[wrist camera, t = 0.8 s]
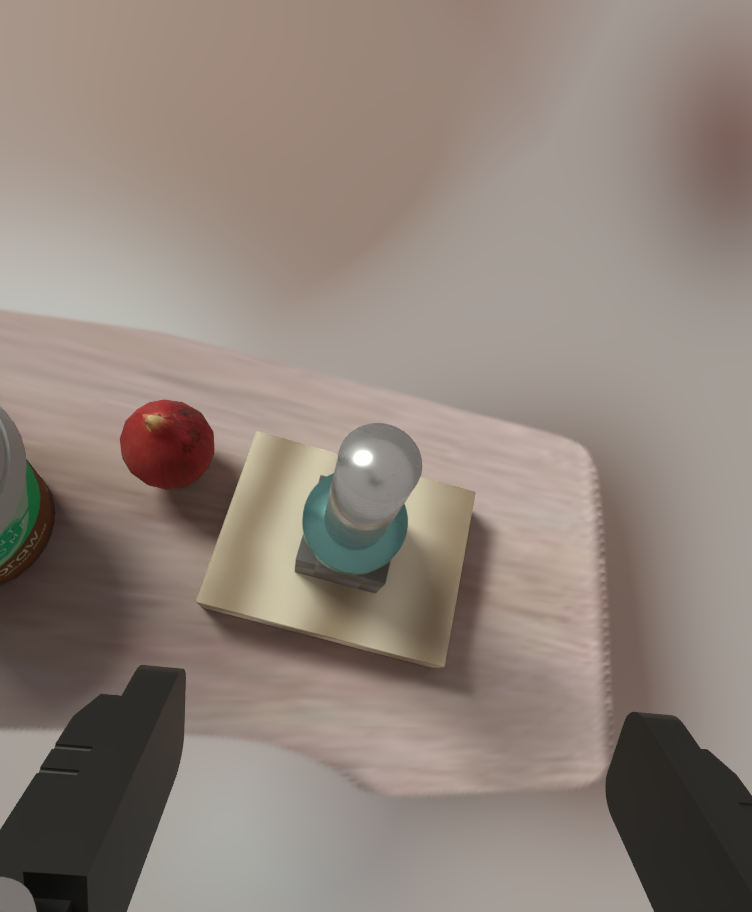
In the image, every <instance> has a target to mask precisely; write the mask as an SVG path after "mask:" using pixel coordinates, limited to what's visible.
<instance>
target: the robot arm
mask: <svg viewBox="0 0 752 912" xmlns="http://www.w3.org/2000/svg"><path fill="white" fill-rule="evenodd" d="M185 688H186V673H185V670H184V669H180V668H169V667H158V666H147V665H140V666H139V667H138V668H137V670H136V671H135V673H134V675H133V676H132V678H131V680H130V682H129V683H128V685H127V687H126V689H125V691H124V692H123V694H122V696H118V695H107V694H100V695H99V696H98V697H97V698H95V699H94V700H93V701H92V702H90V703H89V704H88V705H87V706H85V707H84V708H83V709H81V710H80V711H79V712H78V713H76V714H75V715H74V716H73V717H72V719H71V720H70V722H69V724H68V725H67V727H66V728H65V730H64V731H63V733H62V734H61V736H60V738H59V739H58V741H57V742H56V745H55V748H54V749H52V750H51V752H50V753H49V755H48V756H47V758H46V759H45V761H44V763H43V764H42V765H41V768H40V771H39V773H37V774H36V775H35V776H34V778H33V779H32V781H31V783H30V784H29V786H28V787H27V789H26V790H25V792H24V793H23V795H22V797H21V798H20V800H19V801H18V803H17V804H16V806H15V807H14V809H13V811H12V812H11V814H10V815H9V817H8V818H7V820H6V821H5V823H4V825H3V826H2V828H1V829H0V912H127V909H128V906H129V904H130V901H131V898H132V895H133V893H134V890H135V887H136V884H137V882H138V879H139V876H140V874H141V871H142V868H143V865H144V863H145V860H146V857H147V854H148V852H149V849H150V846H151V843H152V841H153V837H154V835H155V832H156V830H157V827H158V824H159V822H160V819H161V816H162V814H163V811H164V808H165V805H166V803H167V800H168V797H169V794H170V792H171V789H172V786H173V784H174V781H175V778H176V775H177V772H178V768H179V764H180V760H181V755H182V749H183V741H184V720H185ZM606 799H607V804H608V808H609V812H610V814H611V817H612V819H613V821H614V823H615V826H616V828H617V830H618V832H619V834H620V837H621V839H622V841H623V843H624V845H625V848H626V850H627V852H628V855H629V857H630V859H631V861H632V863H633V866H634V868H635V870H636V872H637V874H638V877H639V879H640V881H641V883H642V886H643V888H644V890H645V892H646V894H647V897H648V899H649V901H650V903H651V906H652V908H653V910H654V912H752V795H751V794H750V793H749V791H748V790H747V788H746V787H745V786H744V784H743V783H742V782H741V780H740V779H739V778H738V776H737V775H736V774H735V773H734V772H732V771H731V770H730V769H729V768H728V767H727V766H726V765H725V764H723V763H722V762H721V761H720V760H719V759H718V758H717V757H715V756H714V755H713V754H712V753H711V752H710V751H709V750H707V749H701V748H700V747H699V746H698V744H697V743H696V741H695V740H694V738H693V737H692V736H691V734H690V733H689V731H688V730H687V728H686V727H685V726H684V724H683V723H682V722H681V721H680V720H679V719H678V718H677V717H675V716H672V715H662V714H651V713H641V712H632V713H630V714H629V715H628V716H627V717H626V719H625V722H624V725H623V727H622V730H621V733H620V737H619V740H618V743H617V746H616V749H615V752H614V755H613V758H612V761H611V764H610V767H609V770H608V773H607V777H606Z"/></svg>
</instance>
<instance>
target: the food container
mask: <svg viewBox="0 0 752 912" xmlns="http://www.w3.org/2000/svg"><path fill="white" fill-rule="evenodd" d="M54 516H55V511H54V502H53V499H52V496H51V493H50V491H49V489H48V487H47V485H46V484H45V482H44V481H43V480H42V478H41V477H40V476H39V475H38V473H37V472H36V471H35V469H34V468H33V467H32V466H31V464H30V463H29V462H28V460H27V459H26V453H25V448H24V445H23V441H22V438H21V435H20V433H19V431H18V429H17V427H16V425H15V423H14V422H13V421H12V419H11V418H10V417H9V416H8V414H7V413H6V412H5V411H4V410H3V409H2V408H1V407H0V585H2V584H4V583H6V582H8V581H10V580H13V579H15V578H17V577H18V576H19V575H20V574H21V573H23V572H24V571H25V570H26V569H27V568H29V567H30V566H31V565H32V564H33V563H34V562H35V561H36V559H37V558H38V557H39V556H40V555H41V553H42V552H43V550H44V548H45V547H46V545H47V543H48V541H49V538H50V536H51V533H52V529H53V525H54Z"/></svg>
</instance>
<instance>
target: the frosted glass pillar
mask: <svg viewBox="0 0 752 912" xmlns="http://www.w3.org/2000/svg"><path fill="white" fill-rule="evenodd" d="M421 472H422V459H421V455H420V452H419V449H418V447H417V445H416V444H415V442H414V441H413V440H412V438H411V437H410V436H409V435H407V434H406V433H405V432H404V431H402V430H401V429H399V428H397V427H394V426H392V425H388V424H382V423H372V424H367V425H363V426H361V427H359V428H357V429H355V430H354V431H352V432H351V433H350V434H349V435H348V436H347V437H346V438H345V440H344V441H343V443H342V445H341V447H340V449H339V453H338V458H337V462H336V466H335V470H334V473H333V474H331V475H329V476H327V477H325V478H324V479H322V480H321V481H320V482H319V483H318V484H317V485H316V486H315V487H314V488H313V490H312V491H311V492H310V494H309V496H308V498H307V500H306V503H305V506H304V510H303V518H302V530H303V535H304V539H305V542H306V544H307V546H308V548H309V550H310V551H311V553H312V554H313V556H314V557H315V558H316V559H317V560H318V561H319V562H320V563H321V564H323V565H324V566H326V567H327V568H329V569H331V570H333V571H335V572H338V573H341V574H346V575H363V574H368V573H371V572H374V571H376V570H378V569H380V568H382V567H383V566H385V565H386V564H387V563H388V562H389V561H390V560H392V558H393V557H394V556H395V555H396V554H397V552H398V551H399V550H400V548H401V546H402V545H403V542H404V540H405V537H406V534H407V528H408V515H407V510H406V506H405V504H404V503H405V502H406V500H407V499H408V497H409V496H410V494H411V493H412V491H413V489H414V488H415V486H416V485H417V483H418V481H419V479H420V476H421Z"/></svg>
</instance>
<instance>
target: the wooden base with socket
mask: <svg viewBox="0 0 752 912" xmlns="http://www.w3.org/2000/svg"><path fill="white" fill-rule="evenodd" d="M337 458H338V454H337V453H333V452H330V451H326V450H323V449H319V448H315V447H312V446H308V445H305V444H301V443H297V442H294V441H290V440H287V439H283V438H280V437H276V436H272V435H269V434H265V433H262V432H258V431H256V434H255V437H254V440H253V442H252V445H251V448H250V451H249V454H248V456H247V459H246V462H245V465H244V468H243V470H242V473H241V476H240V479H239V482H238V484H237V487H236V490H235V493H234V496H233V498H232V501H231V504H230V507H229V510H228V512H227V515H226V518H225V521H224V524H223V526H222V529H221V532H220V535H219V538H218V540H217V543H216V546H215V549H214V552H213V554H212V557H211V560H210V563H209V566H208V568H207V571H206V574H205V577H204V580H203V582H202V585H201V588H200V591H199V594H198V596H197V599H196V602H197V603H198V604H199V605H200V606H201V607H202V608H205V609H209V610H213V611H217V612H221V613H224V614H228V615H232V616H236V617H240V618H243V619H247V620H251V621H255V622H259V623H262V624H266V625H270V626H274V627H278V628H282V629H285V630H289V631H293V632H297V633H301V634H304V635H308V636H312V637H316V638H320V639H323V640H327V641H331V642H335V643H339V644H342V645H346V646H350V647H354V648H358V649H361V650H365V651H369V652H373V653H377V654H380V655H384V656H388V657H392V658H396V659H399V660H403V661H407V662H411V663H415V664H418V665H422V666H426V667H430V668H441V667H445V662H446V657H447V651H448V645H449V640H450V634H451V628H452V623H453V617H454V611H455V606H456V600H457V594H458V589H459V583H460V577H461V572H462V566H463V560H464V555H465V549H466V543H467V538H468V532H469V526H470V521H471V515H472V509H473V504H474V498H475V492H473V491H470V490H466V489H463V488H459V487H455V486H452V485H448V484H445V483H441V482H437V481H434V480H430V479H427V478H423V477H420V479H419V481H418V483H417V485H416V486H415V488H414V489H413V491H412V493H411V494H410V496H409V497H408V499H407V500H406V502H405V503H404V504H405V506H406V510H407V515H408V528H407V534H406V537H405V540H404V542H403V545H402V546H401V548H400V550H399V551H398V552H397V554H396V555H395V556H394V557H393V558H392V560H390V561H389V562H388V563H387V564H386V565H385V566H383V567H382V568H380V569H378V570H376V571H374V572H371V573H368V574H363V575H346V574H341V573H338V572H335V571H333V570H331V569H329V568H327V567H326V566H324V565H323V564H321V563H320V562H319V561H318V560H317V559H316V558H315V557H314V556H313V554H312V553H311V551H310V550H309V548H308V546H307V544H306V542H305V539H304V535H303V530H302V518H303V510H304V506H305V503H306V500H307V498H308V496H309V494H310V492H311V491H312V490H313V488H314V487H315V486H316V485H317V484H318V483H319V482H320V481H321V480H322V479H324V478H325V477H327V476H329V475H331V474H333V473H334V470H335V466H336V462H337Z"/></svg>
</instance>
